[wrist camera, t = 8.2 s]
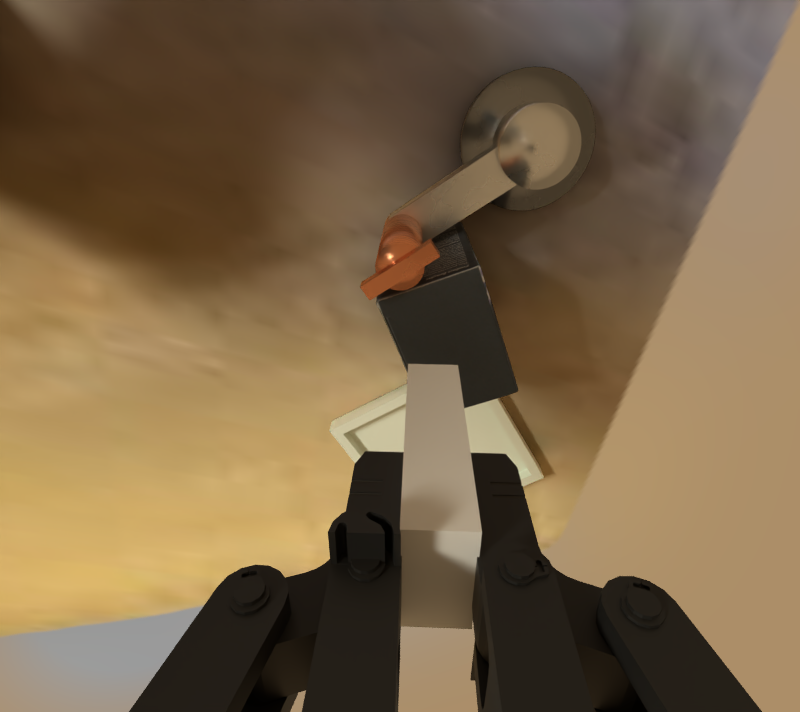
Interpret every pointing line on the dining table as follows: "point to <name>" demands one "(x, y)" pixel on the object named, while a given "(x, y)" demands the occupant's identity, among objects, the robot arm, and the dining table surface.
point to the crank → (476, 189)
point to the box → (452, 321)
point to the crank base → (512, 93)
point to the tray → (385, 431)
